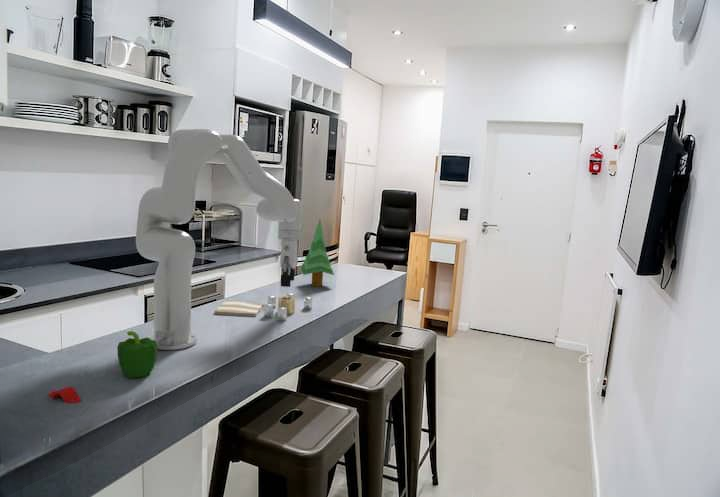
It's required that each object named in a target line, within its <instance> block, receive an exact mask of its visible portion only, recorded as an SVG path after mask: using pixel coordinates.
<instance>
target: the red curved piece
mask: <svg viewBox="0 0 720 497" xmlns="http://www.w3.org/2000/svg"><path fill="white" fill-rule="evenodd" d="M48 397H49V398H51V399H52V400H53V399H56V398H58V397H61V398H62V400H63V403H69V404H77V403H79V402H81V401H82V398H81V397H80V396H79V394H78V392H77V391H76V389H75V387H73V386H66V387H64V388H61V389H59V390H54V391H50V392H49V393H48Z"/></svg>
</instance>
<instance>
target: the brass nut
mask: <svg viewBox="0 0 720 497" xmlns="http://www.w3.org/2000/svg"><path fill="white" fill-rule="evenodd" d="M277 300H278V301H277V306H278V307H286V308H287V315H291V314H294V313H295V306H296V305H295V303H296V298H295V297H294V298H293V297H289V296H286V295H283V296H279V297H278V299H277ZM278 307H277V308H278Z"/></svg>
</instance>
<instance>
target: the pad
mask: <svg viewBox="0 0 720 497" xmlns="http://www.w3.org/2000/svg"><path fill="white" fill-rule="evenodd" d="M264 305H265V303H263V302H247V301H231V300H225V301H224V302H222V304H220V305H219V306H218V307H217V308H216V309H215V310H214V312H213V314H214V315H222V316H237V317H240V316H241V317H257V316H258V314H259V313H260V312H261V310H262V309H264Z"/></svg>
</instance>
